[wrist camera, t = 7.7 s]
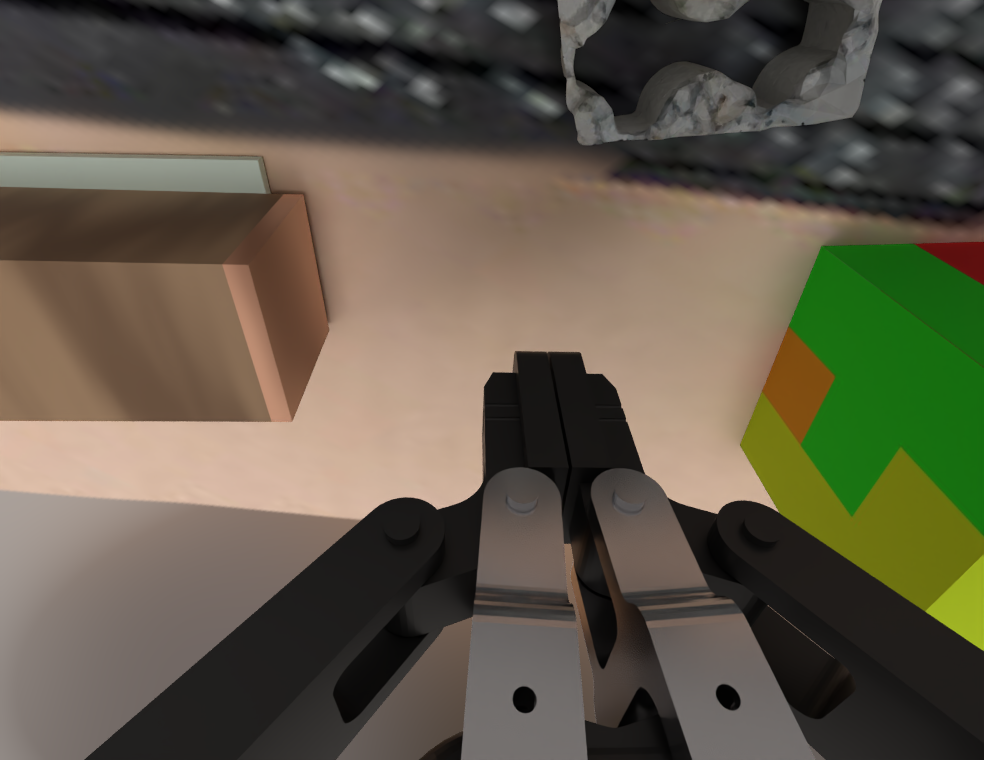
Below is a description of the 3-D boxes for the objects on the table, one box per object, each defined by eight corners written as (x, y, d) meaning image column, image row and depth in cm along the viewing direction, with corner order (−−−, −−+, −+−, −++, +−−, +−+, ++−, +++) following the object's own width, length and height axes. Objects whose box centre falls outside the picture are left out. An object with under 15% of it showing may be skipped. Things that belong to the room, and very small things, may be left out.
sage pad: (261, 156, 15) (257, 160, 15) (307, 346, 20) (304, 352, 19) (-47, 151, 15) (-58, 154, 15) (69, 346, 19) (61, 352, 19)
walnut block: (248, 264, 12) (-208, 256, 11) (292, 421, 15) (-65, 420, 14) (303, 194, 16) (-34, 185, 15) (328, 330, 19) (49, 326, 18)
